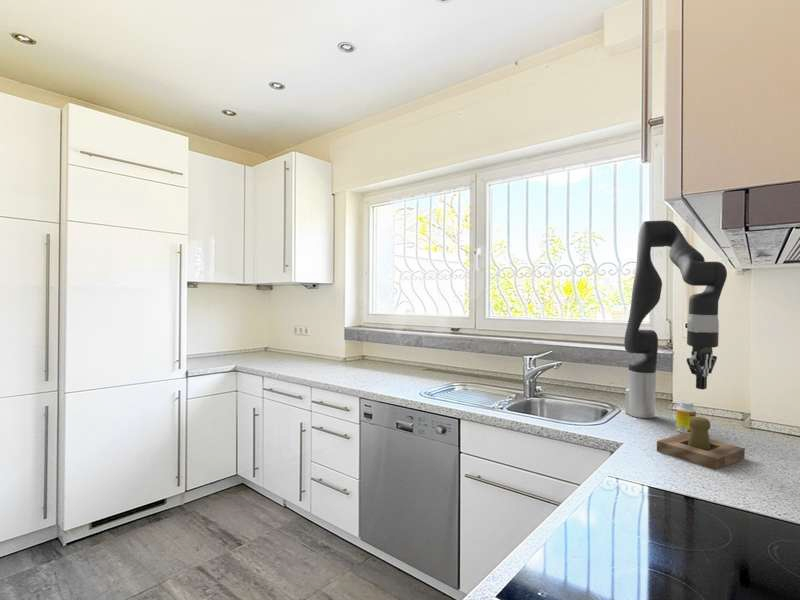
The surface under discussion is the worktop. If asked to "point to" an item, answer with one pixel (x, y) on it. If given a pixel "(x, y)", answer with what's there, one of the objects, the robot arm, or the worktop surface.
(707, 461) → the hole plate
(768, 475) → the worktop surface
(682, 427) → the supplement bottle
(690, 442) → the olive tapered peg
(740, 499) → the worktop surface
